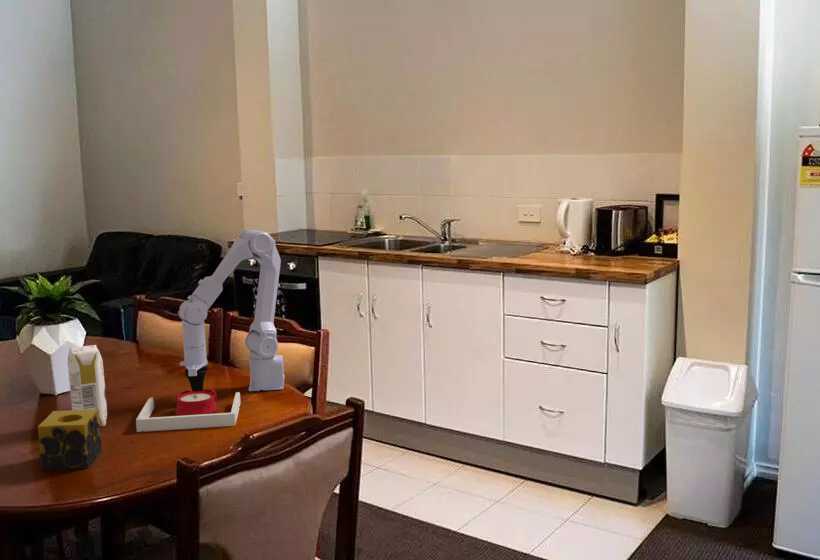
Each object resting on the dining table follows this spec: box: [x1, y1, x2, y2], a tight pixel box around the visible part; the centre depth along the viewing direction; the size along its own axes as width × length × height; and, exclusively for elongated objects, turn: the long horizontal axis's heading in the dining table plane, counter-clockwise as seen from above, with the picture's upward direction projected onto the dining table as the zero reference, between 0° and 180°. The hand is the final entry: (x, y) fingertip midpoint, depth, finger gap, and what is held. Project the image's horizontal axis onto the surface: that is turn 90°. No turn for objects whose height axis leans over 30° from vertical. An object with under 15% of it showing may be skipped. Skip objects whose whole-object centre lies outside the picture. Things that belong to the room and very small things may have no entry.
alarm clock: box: [175, 388, 218, 416], centre depth 207 cm, size 10×6×15 cm
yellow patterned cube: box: [37, 409, 103, 471], centre depth 173 cm, size 10×10×10 cm
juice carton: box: [67, 344, 108, 427], centre depth 196 cm, size 8×9×19 cm
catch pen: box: [135, 391, 241, 433], centre depth 201 cm, size 23×18×3 cm
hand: (197, 394), depth 215 cm, fingers closed
